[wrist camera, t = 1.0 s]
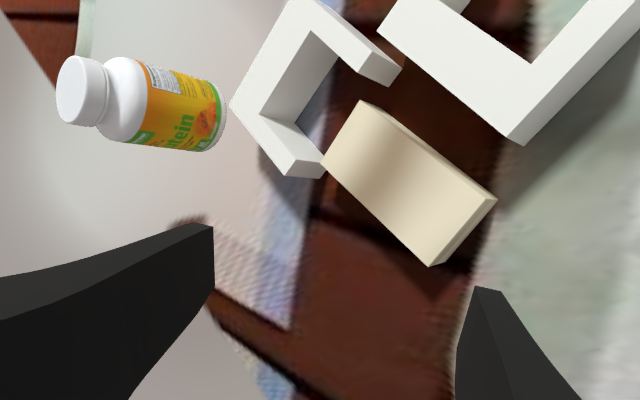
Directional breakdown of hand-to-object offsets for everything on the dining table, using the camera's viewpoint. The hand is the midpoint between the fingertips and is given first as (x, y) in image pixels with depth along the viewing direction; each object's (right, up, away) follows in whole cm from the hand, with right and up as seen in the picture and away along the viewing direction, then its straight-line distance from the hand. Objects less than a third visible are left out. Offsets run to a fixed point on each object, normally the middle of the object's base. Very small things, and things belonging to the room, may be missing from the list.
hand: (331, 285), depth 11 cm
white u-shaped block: (+8, +10, +8) cm, 15 cm away
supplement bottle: (-9, +9, +21) cm, 25 cm away
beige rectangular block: (+5, +3, +11) cm, 12 cm away
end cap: (0, +9, +14) cm, 16 cm away
